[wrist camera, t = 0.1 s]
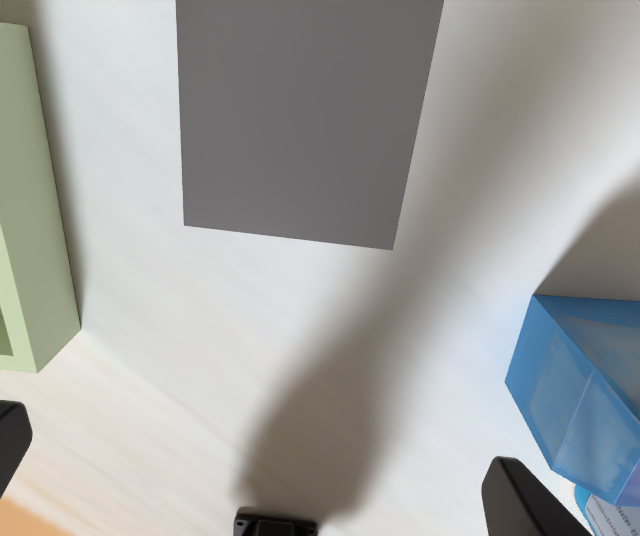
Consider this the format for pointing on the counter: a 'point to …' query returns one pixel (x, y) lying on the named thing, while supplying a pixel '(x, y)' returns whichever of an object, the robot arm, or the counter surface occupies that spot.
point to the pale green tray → (29, 221)
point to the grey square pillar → (301, 114)
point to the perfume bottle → (583, 391)
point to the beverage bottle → (607, 515)
